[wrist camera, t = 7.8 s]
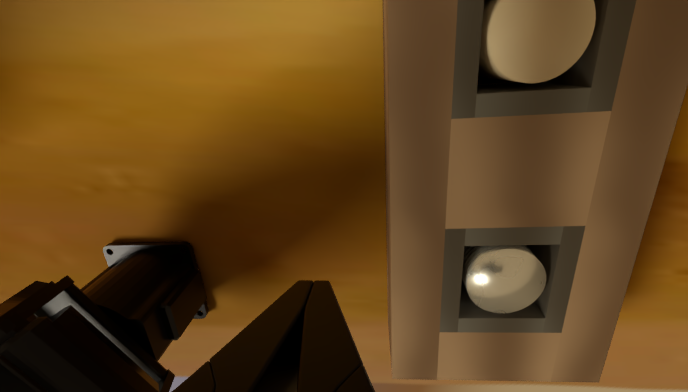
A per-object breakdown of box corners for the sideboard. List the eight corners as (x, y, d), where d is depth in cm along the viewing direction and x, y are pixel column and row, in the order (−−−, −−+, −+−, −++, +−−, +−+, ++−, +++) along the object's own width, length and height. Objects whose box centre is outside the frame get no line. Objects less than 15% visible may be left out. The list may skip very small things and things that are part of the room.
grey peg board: (388, 321, 25) (392, 379, 21) (380, -116, 16) (385, -190, 11) (555, 321, 24) (598, 382, 20) (654, -147, 15) (784, -242, 10)
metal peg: (446, 264, 23) (464, 313, 19) (449, 211, 22) (469, 250, 17) (506, 264, 23) (539, 313, 18) (513, 210, 21) (552, 249, 17)
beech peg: (456, 80, 19) (484, 86, 14) (461, -3, 17) (493, -25, 13) (532, 75, 18) (584, 80, 14) (543, -9, 17) (606, -35, 12)
